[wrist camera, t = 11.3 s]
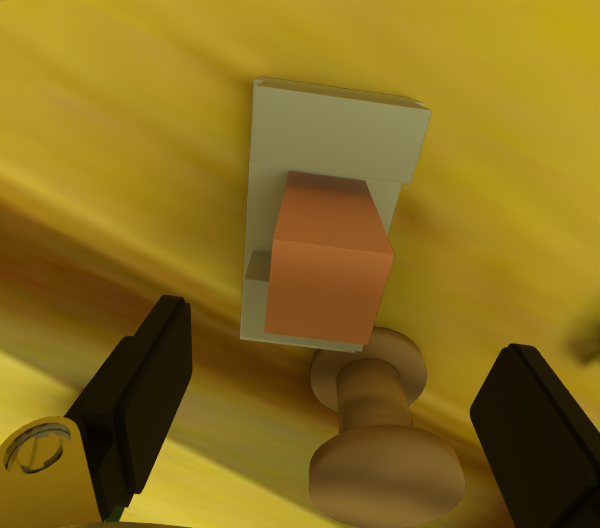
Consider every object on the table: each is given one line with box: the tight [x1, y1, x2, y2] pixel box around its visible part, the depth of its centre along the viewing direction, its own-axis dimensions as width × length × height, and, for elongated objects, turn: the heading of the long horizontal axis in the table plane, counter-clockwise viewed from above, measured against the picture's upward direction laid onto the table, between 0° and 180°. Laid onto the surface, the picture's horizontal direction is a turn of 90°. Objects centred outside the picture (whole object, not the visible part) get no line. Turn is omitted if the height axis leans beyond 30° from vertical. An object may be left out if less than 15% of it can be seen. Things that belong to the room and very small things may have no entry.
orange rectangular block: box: [264, 170, 395, 345], centre depth 16 cm, size 4×4×8 cm
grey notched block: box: [240, 76, 432, 353], centre depth 20 cm, size 16×8×6 cm, turn 173°
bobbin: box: [309, 327, 466, 528], centre depth 25 cm, size 9×9×9 cm
